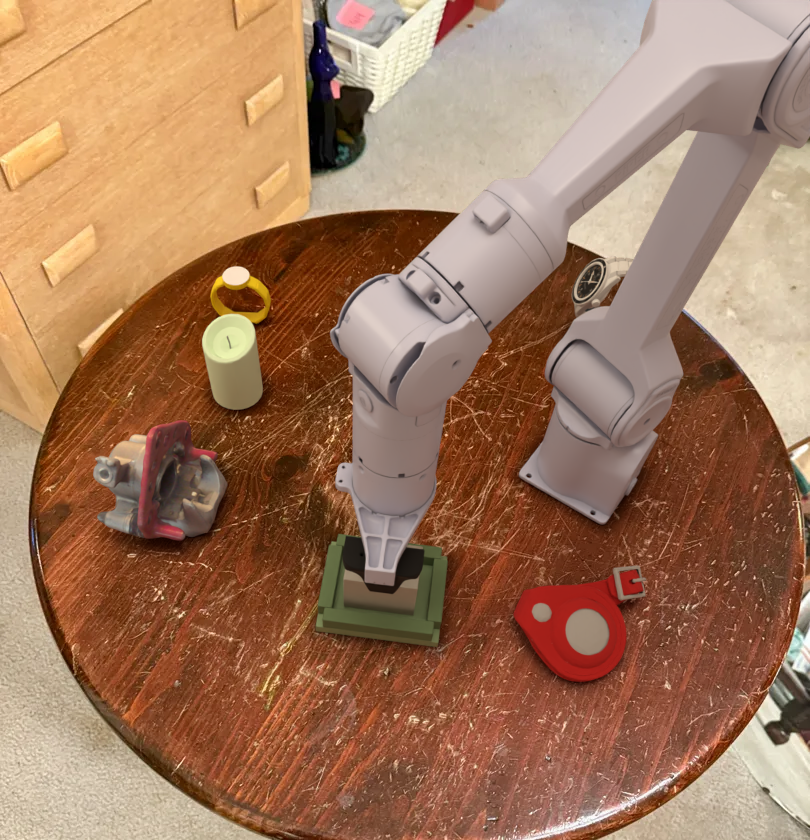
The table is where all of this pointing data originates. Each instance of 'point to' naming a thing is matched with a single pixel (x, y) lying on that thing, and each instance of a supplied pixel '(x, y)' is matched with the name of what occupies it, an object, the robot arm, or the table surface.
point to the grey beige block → (380, 595)
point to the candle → (233, 361)
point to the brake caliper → (161, 484)
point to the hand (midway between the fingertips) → (387, 546)
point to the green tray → (378, 623)
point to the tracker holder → (579, 623)
